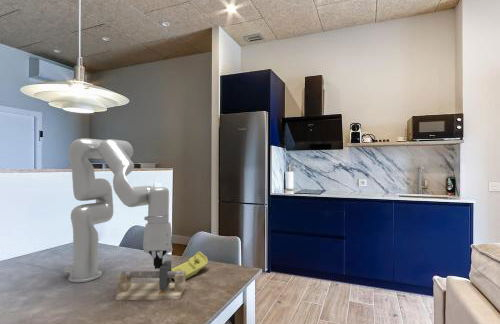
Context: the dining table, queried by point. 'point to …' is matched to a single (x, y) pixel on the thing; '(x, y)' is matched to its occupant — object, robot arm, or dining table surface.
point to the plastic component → (192, 265)
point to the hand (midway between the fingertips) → (158, 267)
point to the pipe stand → (149, 286)
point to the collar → (164, 275)
